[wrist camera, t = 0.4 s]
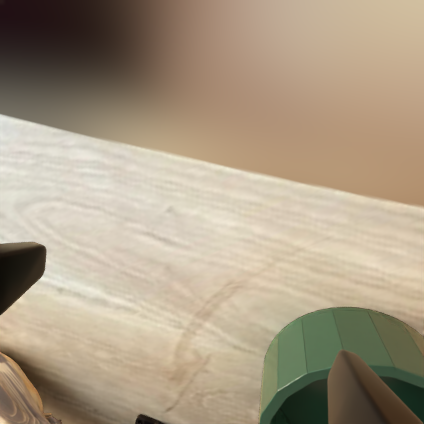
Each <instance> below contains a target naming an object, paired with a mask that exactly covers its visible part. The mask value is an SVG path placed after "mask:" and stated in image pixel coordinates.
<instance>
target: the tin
mask: <svg viewBox="0 0 424 424" xmlns="http://www.w3.org/2000/svg"><path fill="white" fill-rule="evenodd" d="M340 350H346V351H349V352H352V353H355V354H357V355H358V356H359V357H360V358H361V359H362V360H363V361H364V362H365V363H366V364H367V365H368V366H369V367H370V368H371V369H372V370H373V371H374V372H375V373H376V374H377V375H378V377H379V378H380V379H381V380H382V381H383V382H384V383H385V384H386V385H387V386H388V387H389V388H390V389H391V390H392V391H393V392H394V393H395V394H396V395H397V396H398V397H399V398H400V399H401V401H402V402H403V403H404V404H405V405H406V406H407V407H408V408H409V409H410V410H411V411H412V412H413V413H414V414H415V415H416V416H417V417H418V418H419V419H420V420H421V421H422V422H423V423H424V337H423V336H422V335H421V334H419V333H418V332H417V331H416V330H414V329H413V328H412V327H410V326H409V325H407V324H406V323H404V322H402V321H400V320H398V319H396V318H394V317H391V316H389V315H386V314H384V313H381V312H377V311H373V310H369V309H363V308H355V307H337V308H328V309H322V310H318V311H315V312H312V313H308V314H306V315H304V316H302V317H299V318H298V319H296V320H294V321H293V322H291V323H290V324H288V325H287V326H286V327H285V328H283V329H282V330H281V331H280V332H279V334H278V335H277V336H276V337H275V338H274V340H273V341H272V343H271V344H270V346H269V349H268V351H267V353H266V356H265V360H264V368H263V376H262V385H261V397H260V409H259V421H258V424H329V423H328V384H327V383H328V375H329V372H330V370H331V368H332V365H333V363H334V361H335V358H336V356H337V354H338V352H339V351H340Z"/></svg>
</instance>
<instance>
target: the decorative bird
mask: <svg viewBox="0 0 424 424" xmlns="http://www.w3.org/2000/svg"><path fill="white" fill-rule="evenodd" d="M51 415H52V413H44V412H43V406H42V401H41V398H40V396H39V393H38V391H37V390H36V389H35V388H34V386H33V385H32V383H31V382H30V381H29V380H28V378H27V377H26V375H25V374H24V372H23V371H22V369H21V368H20V367H19V365H18V364H17V363H16V362H15V361H13V360H12V359H11V358H9V357H7V356H6V355H4V354H3V353H1V352H0V424H62V422H61V420H57V419H56V418H54V417H49V416H51Z"/></svg>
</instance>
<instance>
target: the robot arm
mask: <svg viewBox="0 0 424 424" xmlns="http://www.w3.org/2000/svg"><path fill="white" fill-rule="evenodd" d="M45 263H46V247H45V246H44V245H41V244H38V243H35V242H21V243H6V244H0V315H1V314H2V313H4V312H5V311H6V310H7V309H8V308H9V307H10V306H11V305H12V304H13V303H14V302H15V301H17V300H18V299H19V298H20V297H21V296H22V295H23V294H24V293H25V292H26V291H27V290H28V289H29V288H30V287H31V286H32V285H33V284H35V283H36V282H37V281H38V280H39V279H40V278H41V277H42V275H43V273H44V271H45ZM327 384H328V423H329V424H424V423H423V422H422V421H421V420H420V419H419V418H418V417H417V416H416V415H415V414H414V413H413V412H412V411H411V410H410V409H409V408H408V407H407V406H406V405H405V404H404V403H403V402H402V401H401V399H400V398H399V397H398V396H397V395H396V394H395V393H394V392H393V391H392V390H391V389H390V388H389V387H388V386H387V385H386V384H385V383H384V382H383V381H382V380H381V379H380V378H379V377H378V375H377V374H376V373H375V372H374V371H373V370H372V369H371V368H370V367H369V366H368V365H367V364H366V363H365V362H364V361H363V360H362V359H361V358H360V357H359V356H358V355H357V354H355V353H352V352H349V351H346V350H340V351H339V352H338V354H337V356H336V358H335V361H334V363H333V365H332V368H331V370H330V372H329V375H328V383H327ZM135 424H163V423H161V422H159V421H156V420H154V419H152V418H149V417H147V416H145V415H142V414H140V415H138V417H137V419H136V422H135Z"/></svg>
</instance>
